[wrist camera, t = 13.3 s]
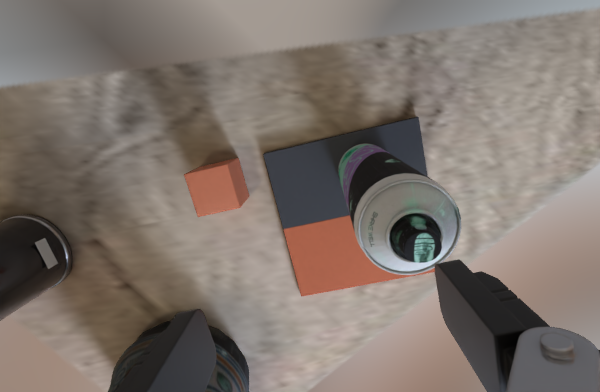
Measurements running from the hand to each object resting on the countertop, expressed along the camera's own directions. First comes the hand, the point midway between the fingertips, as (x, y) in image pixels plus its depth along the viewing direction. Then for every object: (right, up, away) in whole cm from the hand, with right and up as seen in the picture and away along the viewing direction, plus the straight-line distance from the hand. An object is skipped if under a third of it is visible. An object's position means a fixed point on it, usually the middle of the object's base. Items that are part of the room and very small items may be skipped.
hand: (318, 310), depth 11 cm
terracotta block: (-9, +5, +25) cm, 27 cm away
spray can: (+6, +7, +23) cm, 25 cm away
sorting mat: (+5, +2, +25) cm, 25 cm away
